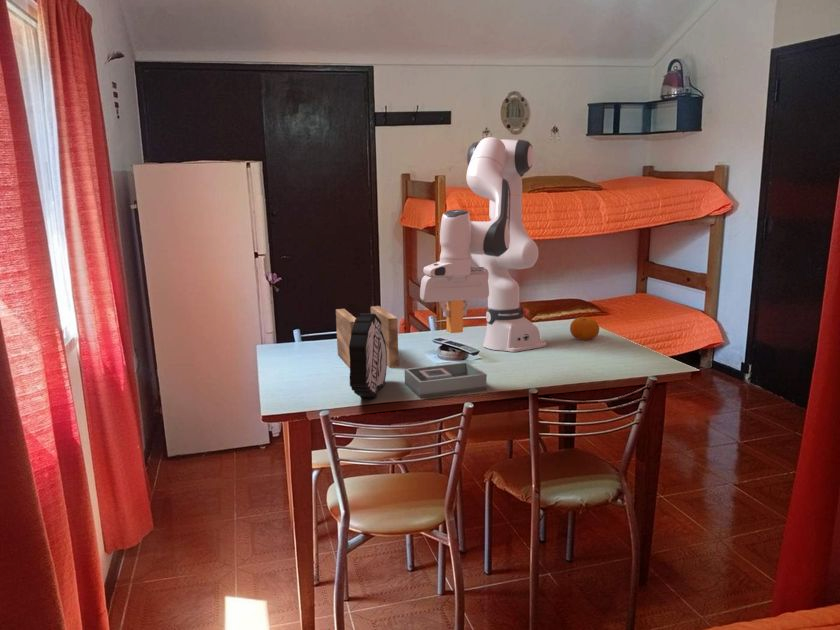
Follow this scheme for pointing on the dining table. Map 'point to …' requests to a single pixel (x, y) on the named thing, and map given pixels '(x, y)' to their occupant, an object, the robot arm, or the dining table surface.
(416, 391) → the bin
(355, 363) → the wall sign
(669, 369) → the dining table surface
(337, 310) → the bookends
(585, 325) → the fruit
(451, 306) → the orange rectangular block
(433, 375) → the socket
